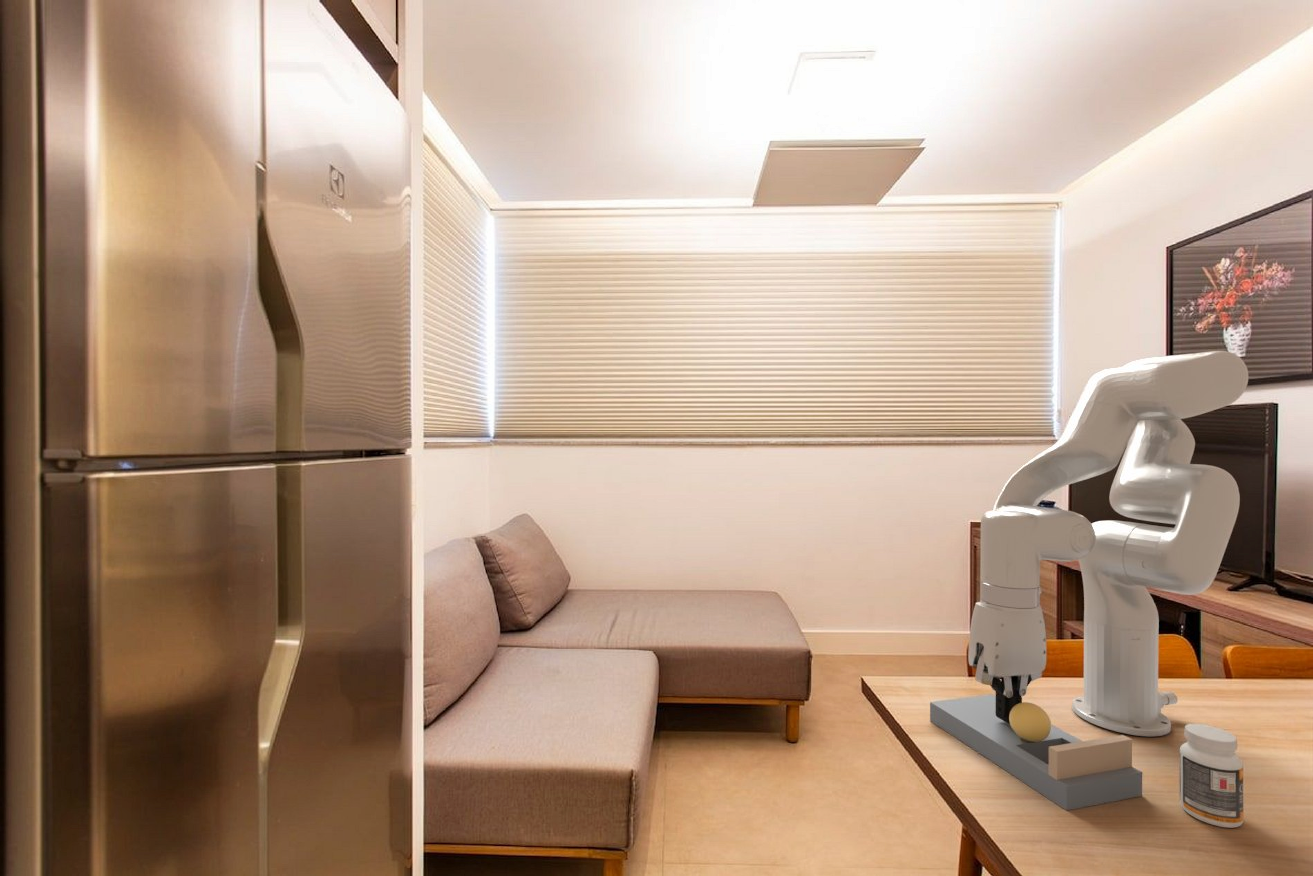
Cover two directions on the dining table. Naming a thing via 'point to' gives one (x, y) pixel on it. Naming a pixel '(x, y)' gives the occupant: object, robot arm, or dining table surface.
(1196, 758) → the pill bottle
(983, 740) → the board
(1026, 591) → the robot arm
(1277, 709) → the dining table surface
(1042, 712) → the ball
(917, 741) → the dining table surface
